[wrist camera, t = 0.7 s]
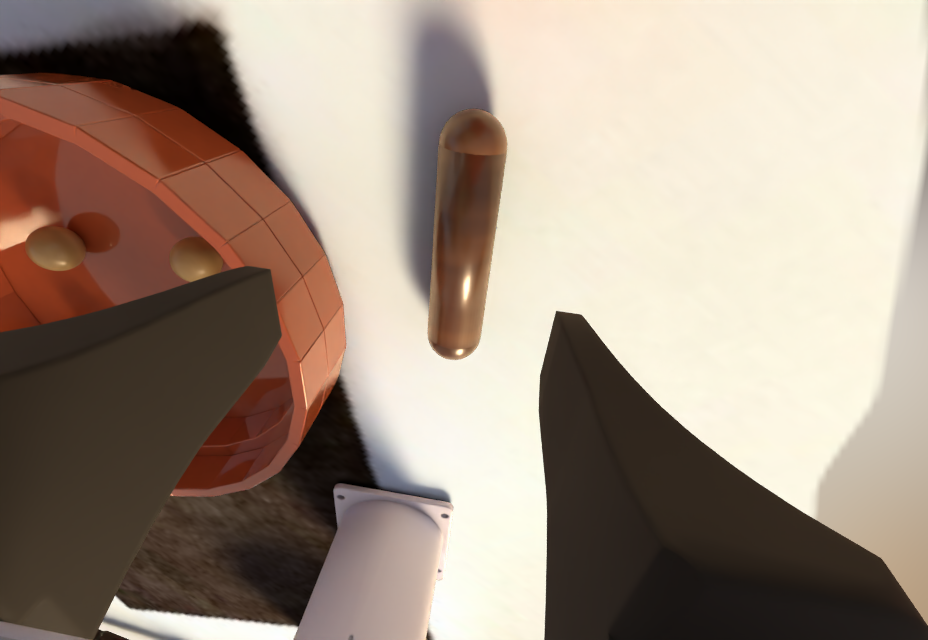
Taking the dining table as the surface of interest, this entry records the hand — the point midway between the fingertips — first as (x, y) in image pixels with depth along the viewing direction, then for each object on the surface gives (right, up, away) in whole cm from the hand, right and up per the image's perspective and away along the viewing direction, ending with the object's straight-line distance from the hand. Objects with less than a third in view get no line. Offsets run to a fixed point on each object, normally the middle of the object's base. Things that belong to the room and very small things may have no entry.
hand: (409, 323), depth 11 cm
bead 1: (-17, +3, +8) cm, 19 cm away
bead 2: (-10, +3, +8) cm, 13 cm away
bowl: (-14, +2, +11) cm, 18 cm away
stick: (+1, +3, +7) cm, 8 cm away
